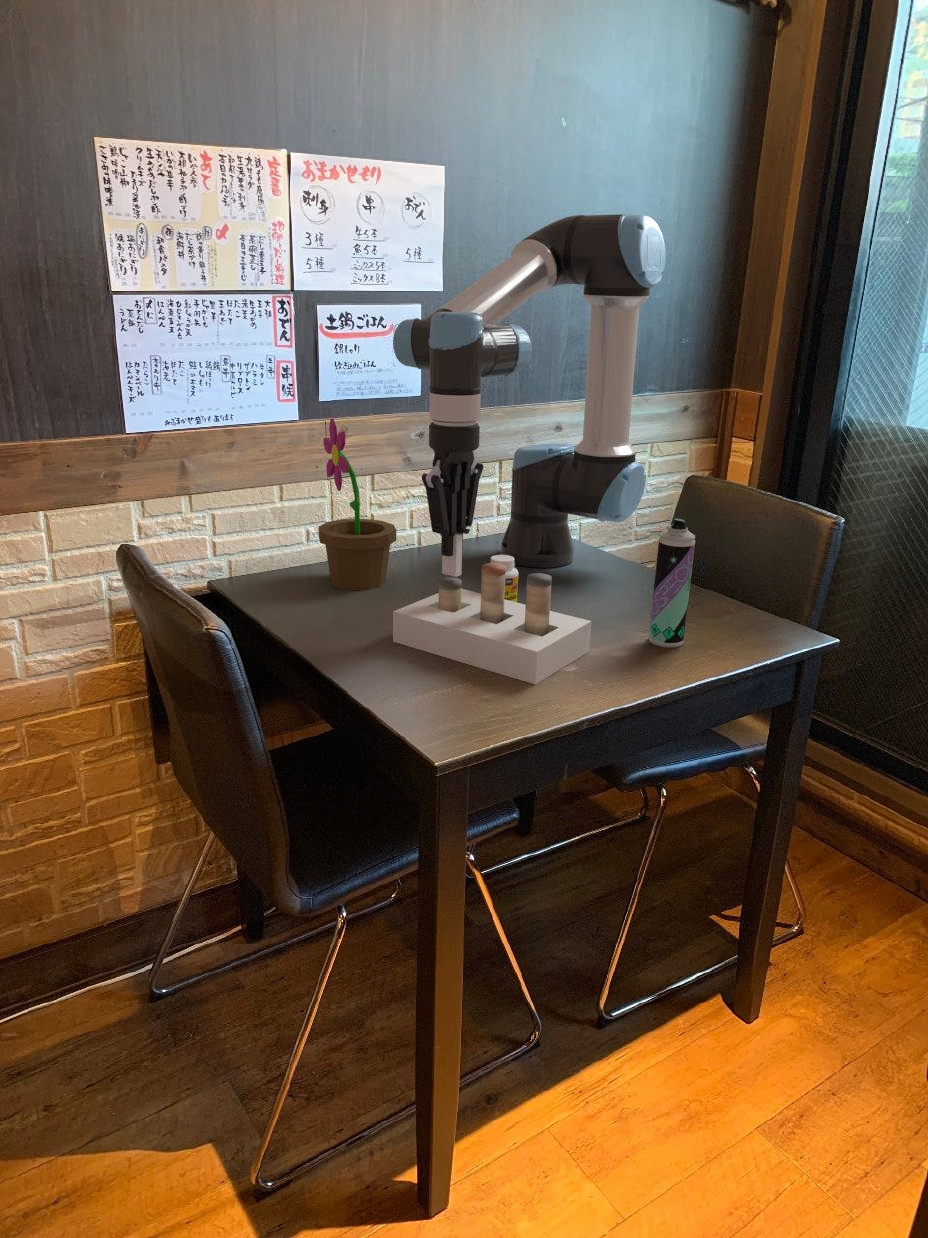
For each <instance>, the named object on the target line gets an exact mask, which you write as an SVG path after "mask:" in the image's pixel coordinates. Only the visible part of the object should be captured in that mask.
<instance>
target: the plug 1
mask: <svg viewBox="0 0 928 1238" xmlns="http://www.w3.org/2000/svg"><path fill="white" fill-rule="evenodd" d="M462 584H463V581H462V579H460V578H458V577H454V576H451V577H447V576H446V577H442V578H439V580H438V593H439V601H438V609H441V610H445V611H449V612H452V613H454V612H456V611H458V610H461V593H462V589H463V587H462Z"/></svg>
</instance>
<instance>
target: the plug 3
mask: <svg viewBox="0 0 928 1238" xmlns="http://www.w3.org/2000/svg"><path fill="white" fill-rule="evenodd" d="M552 580H553V579H552V575H549V574H546V573H540V572H536V573H535V572H533V573H530V574H528V575H527V576H526V589H525V593H526V594H525V605H526V606H525V624H524V632H527V633H531V634H534V635H538V636H542V637H543V636H544V635H546V634H548V629H549V613H550V611H551V597H552V582H553V581H552Z"/></svg>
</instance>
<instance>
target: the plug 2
mask: <svg viewBox="0 0 928 1238" xmlns="http://www.w3.org/2000/svg"><path fill="white" fill-rule="evenodd" d="M505 573H506V566H505V565H503V564H499V563H490V562H488V563H484V564H482V565H481V578H480V579H481V582H480V585H481V586H480V593H481V606H480V620H482V621H486V622H490V623H493V624H498V623H500V622H502V621H503V617H504V595H505Z"/></svg>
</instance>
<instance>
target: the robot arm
mask: <svg viewBox="0 0 928 1238" xmlns="http://www.w3.org/2000/svg"><path fill="white" fill-rule="evenodd" d="M665 268H666V246H665V241H664V236H663V233H662V231H661V229H660V226H659V225H658V223H657V222H656V221H655V220H654V219H653V218H652V217H650V216H649V215H644V214H643V215H642V214H631V213H623V214H591V215H588V214H587V215H585V214H577V215H571V216H566V217H563V218H560V219H558V220H555V221H553V222H550V223H548V224H547V225H545V226H543V227H542V228H539V229H538V230H536V231H534V232H532V233H531V234H530V235H528V236H527V237H525V238H523V239H522V240H520V241H519V242H518V243H517V244H516V245H515V246H514V247H513V249H512V251H511V254H510V257H508V258H506V259H505V260H503V261H502V262H501V263H500V264H498V265H497V266H496V267H494V268H493V269H492V270H490V271H488V273H486V274H485V275H483V276H482V277H480V279H478V280H476V282H475V281H474V283H472V284H471V285H470V286H469V287H467V288H466V289H464V290H463V291H462V292H460V293H459V294H458V295H456V296H454V298H452V299H451V300H450V301H448V302H447V303H445V304H444V305H443V306H441V307H440V308H439V309H437V310H435V312H433V313H431V314H430V315H428V316H427V317H425V318H423V319H421V318H419V317H418V318H417V317H416V318H412V319H411V318H409V319H408V318H407V319H405V320H403V321H401V322H400V323H399V324H398V325H397V327H396V328H395V331H394V332H393V337H392V338H393V339H392V348H393V353H394V354H395V355H394V356H395V357H396V359H397V361H398V362H399V364H402V365H403V366H406V367H411V368H415V369H417V370H429V410H428V411H429V414H428V415H429V419H430V420H431V421H432V422H430V424H429V425H428V447H429V448H431V450H432V451H433V452H434V454H433V455H434V457H433V460H432V468H431V470H430V472H429V473H426V472H425V473H424V472H423V474H422V475H421V481H422V483H423V486H424V488H425V491H426V492H425V493H426V498H427V505H428V513H429V520H430V526H431V531H432V533H434V534H438V535H439V534H440V536H441V541H440V543H441V545H440V547H441V548H440V549H441V550H440V551H441V574H443V575H447V576H451V577H453V578H458V577H459V576H462V570H463V569H462V566H463V565H462V564H463V563H462V560H463V559H462V558H463V556H462V555H463V548H464V546H463V545H464V534H465V535H469V534H470V531H471V529H470V527H472V525H473V523H474V518H475V516H474V515H475V510H476V503H477V497H478V490H479V485H480V479H481V477H482V473H483V471H484V467H485V466H484V464H483V463H480V462H479V463H478V462H476V460H475V455H474V451H476V450H477V449H479V448H480V431H481V430H480V429H481V428H480V424H478V422H479V420H480V419H481V399H482V398H481V397H482V392H481V390H482V389H481V387H482V385H481V383H482V381H481V380H482V378H486V377H489V378H490V377H497V376H498V377H499V376H504V377H506V376H510V375H512V374H516V373H519V372H521V371H522V370H524V369H525V368H526V367H527V366H528V364H529V362H530V360H531V357H532V349H533V347H532V342H531V338H530V336H529V334H528V332H527V331H526V330H525V328H523V327H522V326H519V325H517V324H513V323H511V324H510V323H505V322H502V323H499V322H501V321H502V320H503V319H505V318H506V317H507V316H508V315H510V314H511V313H512V312H513V311H514V310H516V309H517V308H518V307H519V306H521V305H523V303H525V302H526V301H527V300H528V299H530V298H531V297H532V296H533V295H534V294H543V293H546V292H548V291H549V290H551V289H552V288H553V287H556V286H564V285H579V286H580V285H581V286H583V297H584V300H586V301H587V302H588V303H589V305H590V320H589V335H588V348H587V349H588V352H587V354H588V355H587V364H586V365H587V366H586V368H587V369H586V381H585V382H586V383H585V396H584V397H585V399H584V414H583V429H582V439H581V441H580V442H579V443H577V445H576V446H574V448H573V445H572V444H569V443H561V442H559V443H542V444H541V443H540V444H532V445H531V444H530V445H525V446H521V447H519V448H518V449H516V450H515V452H514V455H513V461H512V467H511V472H512V474H511V493H510V498H511V499H510V500H511V501H510V518H509V522H508V525H507V527H506V531H505V533H504V535H503V538H502V541H501V544H500V553H499V555H509V556H512V557H514V564H515V566H516V565H517V566H521V567H527V568H528V567H530V568H542V569H543V568H544V569H545V568H556V567H562V566H567V565H569V564H571V563H573V561H574V559H575V558H574V557H575V547H574V544H573V543H574V542H573V539H572V535H571V531H570V527H569V521H568V520H569V515H571V516H572V515H573V516H577V517H578V516H579V517H582V518H583V517H584V518H588V519H593V520H597V521H600V522H610V523H622V522H625V521H626V520H627V519H629V518H630V517H631V516H632V515H633V514H634V512H635V511H636V509H637V508H638V506H639V504H640V503H641V500H642V498H643V495H644V491H645V488H646V482H647V473H646V469H645V467H644V465H643V464H641V463H640V462H637V461H636V457H637V456H636V453H637V451H636V449H635V447H634V446H633V445H632V444H631V442H630V441H629V440H630V428H631V416H632V403H633V392H634V391H633V390H634V380H635V379H634V377H635V367H636V357H637V356H636V354H637V344H638V343H637V342H638V330H639V329H638V328H639V318H640V308H641V306H642V305H643V304H644V303H646V301H647V300H648V299H649V298H650V291H651V290H650V289H651V288H654V287H655V286H658V285H659V283H660V282H661V280H662V278H663V274H664V273H665ZM497 323H499V324H497ZM468 527H469V528H468Z"/></svg>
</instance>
